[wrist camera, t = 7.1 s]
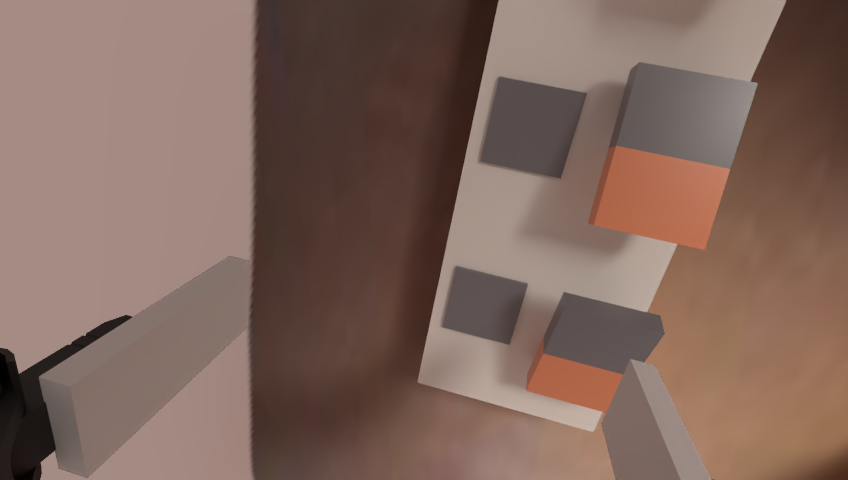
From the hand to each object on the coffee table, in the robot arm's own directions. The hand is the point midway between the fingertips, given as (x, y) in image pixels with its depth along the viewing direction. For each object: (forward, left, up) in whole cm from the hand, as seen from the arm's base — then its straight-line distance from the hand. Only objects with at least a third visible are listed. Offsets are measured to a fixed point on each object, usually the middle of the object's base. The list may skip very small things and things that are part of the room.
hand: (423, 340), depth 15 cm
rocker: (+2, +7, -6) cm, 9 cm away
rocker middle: (-7, +7, -6) cm, 11 cm away
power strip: (-8, +5, -10) cm, 14 cm away
